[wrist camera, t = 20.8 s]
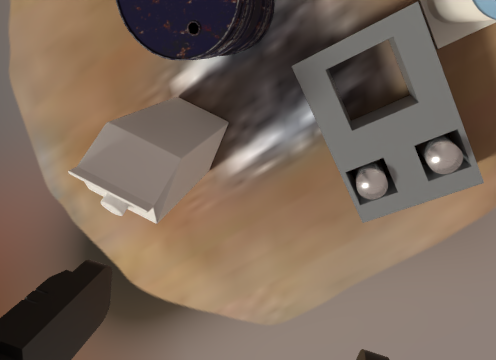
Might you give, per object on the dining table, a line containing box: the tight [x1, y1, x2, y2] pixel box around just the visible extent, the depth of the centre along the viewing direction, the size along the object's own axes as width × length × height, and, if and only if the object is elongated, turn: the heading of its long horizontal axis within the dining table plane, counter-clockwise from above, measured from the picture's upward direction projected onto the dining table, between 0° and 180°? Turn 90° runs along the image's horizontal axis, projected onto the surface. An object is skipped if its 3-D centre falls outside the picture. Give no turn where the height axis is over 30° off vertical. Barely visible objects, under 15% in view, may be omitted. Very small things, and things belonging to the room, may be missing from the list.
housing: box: [291, 1, 484, 223], centre depth 39 cm, size 18×12×5 cm, turn 27°
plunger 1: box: [355, 160, 388, 199], centre depth 41 cm, size 3×3×6 cm
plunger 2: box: [417, 134, 463, 174], centre depth 38 cm, size 3×3×6 cm
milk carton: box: [68, 97, 228, 224], centre depth 38 cm, size 7×7×19 cm
